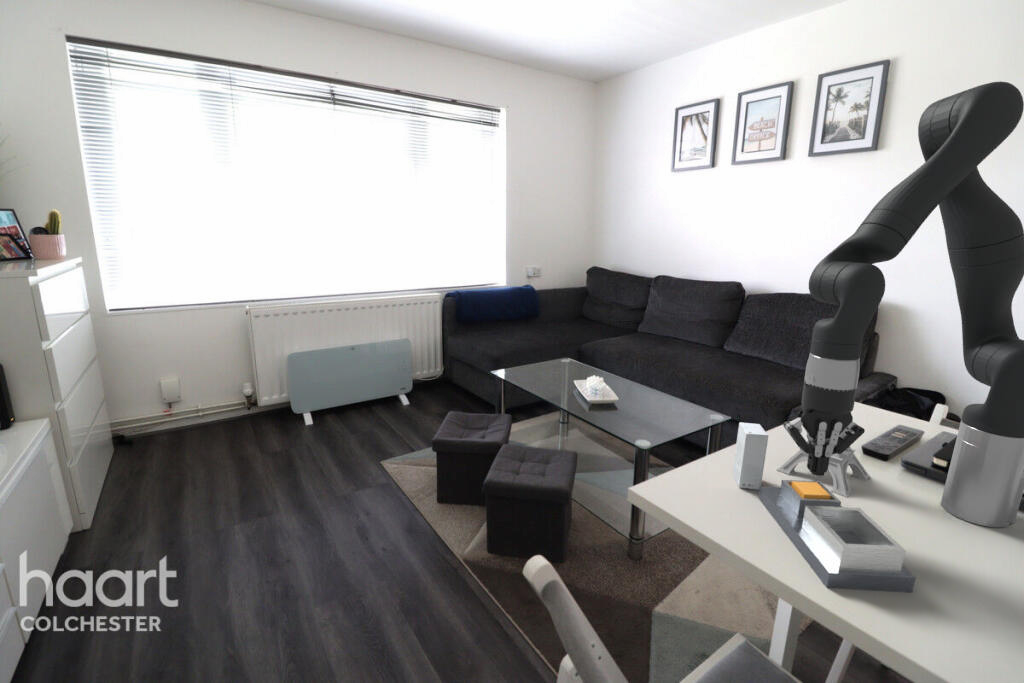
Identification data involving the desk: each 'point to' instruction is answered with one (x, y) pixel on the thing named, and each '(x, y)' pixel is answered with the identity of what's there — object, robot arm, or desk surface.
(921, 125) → the robot arm
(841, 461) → the eiffel tower
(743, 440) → the skincare box
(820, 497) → the button
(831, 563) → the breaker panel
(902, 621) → the desk surface
